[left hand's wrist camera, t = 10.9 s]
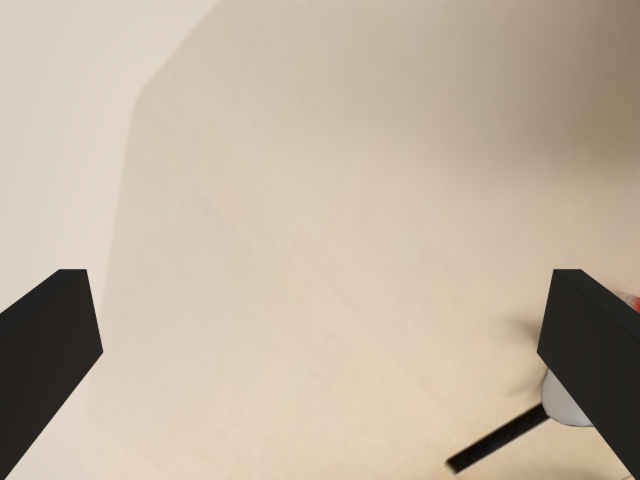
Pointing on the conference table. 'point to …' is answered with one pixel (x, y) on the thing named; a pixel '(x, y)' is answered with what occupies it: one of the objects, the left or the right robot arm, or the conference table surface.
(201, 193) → the conference table surface
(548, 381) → the fish
